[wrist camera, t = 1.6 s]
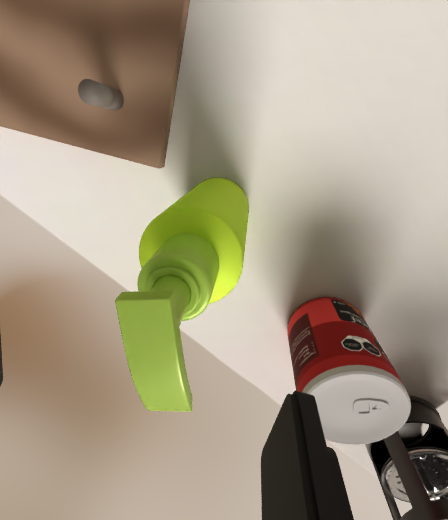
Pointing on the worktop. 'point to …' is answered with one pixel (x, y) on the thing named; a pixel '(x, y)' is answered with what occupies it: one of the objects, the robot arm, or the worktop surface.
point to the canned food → (345, 373)
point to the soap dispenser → (180, 285)
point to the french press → (415, 467)
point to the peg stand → (93, 72)
